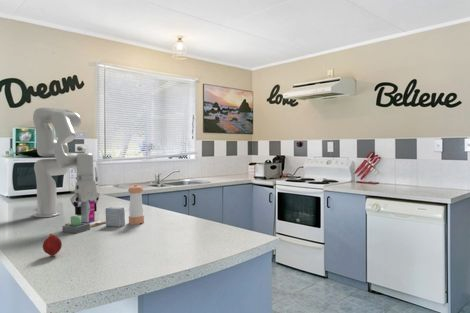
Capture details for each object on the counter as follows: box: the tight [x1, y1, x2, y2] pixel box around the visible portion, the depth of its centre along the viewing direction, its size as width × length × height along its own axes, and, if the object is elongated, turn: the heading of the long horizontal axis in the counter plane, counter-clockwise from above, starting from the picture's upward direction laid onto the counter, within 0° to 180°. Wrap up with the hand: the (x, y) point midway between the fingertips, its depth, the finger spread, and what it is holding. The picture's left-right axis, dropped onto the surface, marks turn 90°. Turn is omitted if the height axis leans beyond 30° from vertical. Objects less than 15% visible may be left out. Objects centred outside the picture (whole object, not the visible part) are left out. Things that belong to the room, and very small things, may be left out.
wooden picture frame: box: [64, 220, 106, 229], centre depth 168 cm, size 16×11×1 cm
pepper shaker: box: [127, 183, 145, 225], centre depth 169 cm, size 7×7×19 cm
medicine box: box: [105, 206, 126, 228], centre depth 164 cm, size 8×4×9 cm, turn 71°
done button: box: [70, 215, 82, 227], centre depth 155 cm, size 4×4×5 cm
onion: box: [42, 233, 63, 257], centre depth 119 cm, size 6×6×8 cm
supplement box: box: [77, 200, 96, 223], centre depth 168 cm, size 6×6×12 cm
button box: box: [61, 223, 91, 234], centre depth 155 cm, size 8×8×2 cm
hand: (86, 212), depth 168 cm, fingers open, 9 cm apart
